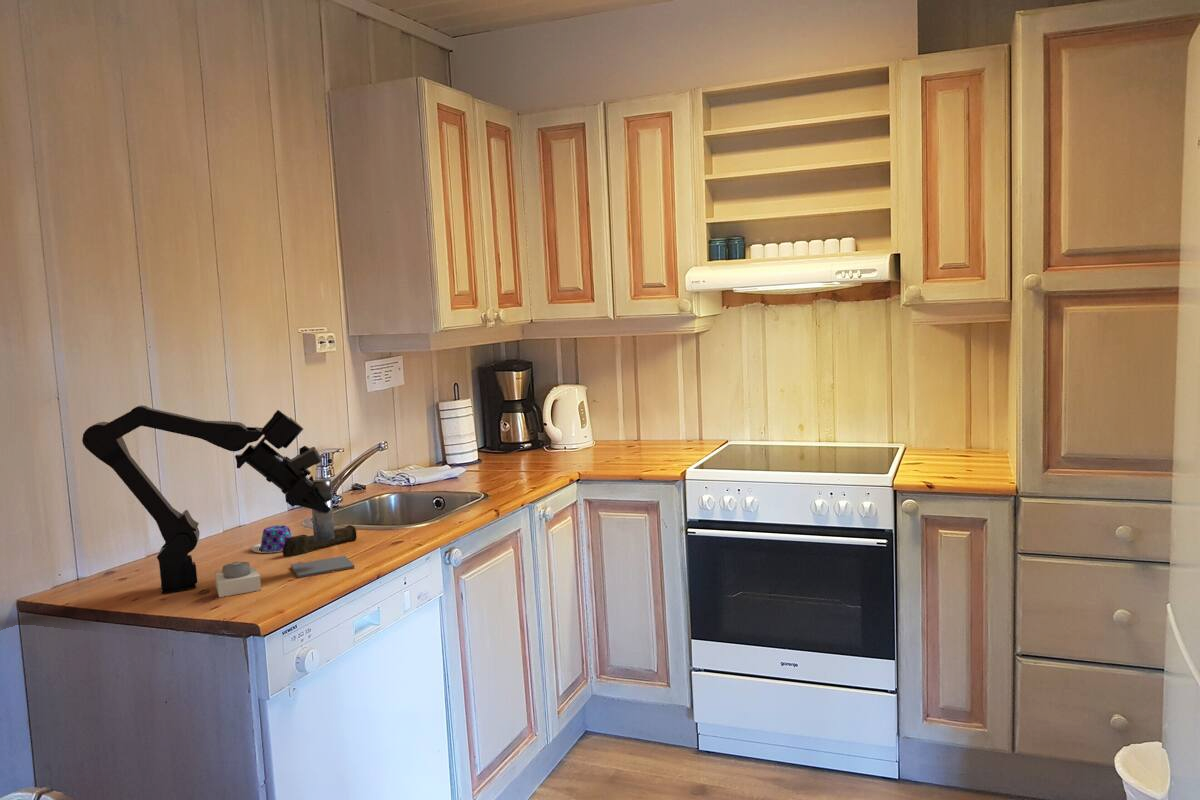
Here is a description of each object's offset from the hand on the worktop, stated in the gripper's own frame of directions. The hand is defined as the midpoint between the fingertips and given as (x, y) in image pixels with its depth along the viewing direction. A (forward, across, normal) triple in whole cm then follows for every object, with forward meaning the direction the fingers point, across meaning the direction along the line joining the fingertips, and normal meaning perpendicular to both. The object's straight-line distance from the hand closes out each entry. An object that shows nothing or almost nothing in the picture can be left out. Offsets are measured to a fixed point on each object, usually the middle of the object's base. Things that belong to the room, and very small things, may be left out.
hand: (328, 508), depth 199 cm
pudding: (+1, +25, +18) cm, 31 cm away
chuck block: (-4, -8, +23) cm, 25 cm away
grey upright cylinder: (+4, 0, +6) cm, 7 cm away
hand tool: (+8, +18, +11) cm, 23 cm away
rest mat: (+8, 0, +11) cm, 13 cm away
